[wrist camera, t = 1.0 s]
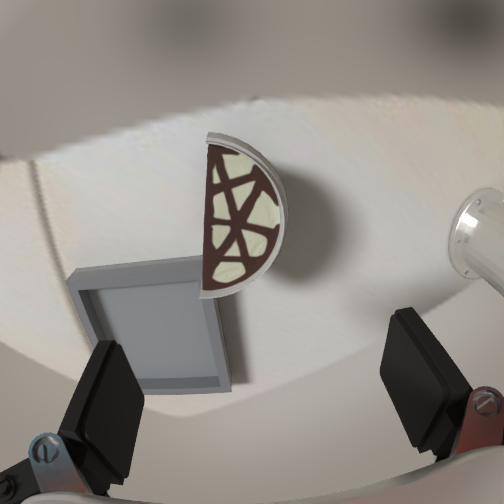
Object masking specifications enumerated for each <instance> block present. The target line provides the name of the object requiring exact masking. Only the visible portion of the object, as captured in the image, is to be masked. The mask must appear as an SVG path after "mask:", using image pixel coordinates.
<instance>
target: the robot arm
mask: <svg viewBox="0 0 504 504" xmlns="http://www.w3.org/2000/svg"><path fill="white" fill-rule="evenodd" d="M449 255H450V260H451V263H452V265H453V267H454V269H455V270H456V271H457V272H458V273H459V274H461V275H462V276H463V277H465V278H468V279H476V278H480V277H482V278H483V279H484V280H485V281H487V282H488V283H489V284H490V285H491V286H492V287H494V288H495V289H496V290H497V291H498V292H499V293H500V294H502V296H504V194H503V193H502V192H500V191H498V190H495V189H483V190H480V191H478V192H476V193H475V194H473V195H472V196H471V197H470V198H469V199H468V200H467V201H466V202H465V203H464V205H463V206H462V208H461V209H460V211H459V212H458V214H457V216H456V219H455V221H454V223H453V227H452V230H451V234H450V239H449ZM380 376H381V379H382V381H383V383H384V385H385V387H386V389H387V391H388V394H389V396H390V398H391V400H392V402H393V404H394V406H395V409H396V411H397V413H398V415H399V417H400V419H401V422H402V424H403V426H404V429H405V431H406V433H407V435H408V438H409V440H410V442H411V444H412V446H413V447H417V449H418V451H419V453H423V452H426V451H428V450H432V452H433V454H434V458H433V461H432V463H431V465H429V466H426V467H423V468H420V469H417V470H414V471H412V472H409V473H406V474H403V475H400V476H396V477H393V478H390V479H387V480H383V481H380V482H376V483H373V484H369V485H366V486H361V487H357V488H354V489H349V490H345V491H340V492H335V493H331V494H325V495H320V496H315V497H309V498H303V499H295V500H288V501H280V502H270V503H260V504H504V397H503V395H502V394H501V393H500V392H499V391H498V390H496V389H495V388H492V387H488V386H482V387H478V388H476V389H474V390H473V389H472V387H471V386H470V385H469V383H468V382H467V380H466V379H465V377H464V376H463V374H462V373H461V372H460V370H459V369H458V367H457V366H456V364H455V363H454V362H453V360H452V359H451V357H450V356H449V354H448V353H447V352H446V350H445V349H444V348H443V346H442V345H441V344H440V342H439V341H438V340H437V339H436V338H435V336H434V335H433V333H432V332H431V331H430V329H429V328H428V327H427V325H426V324H425V323H424V321H423V320H422V319H421V318H420V316H419V315H418V314H417V312H416V311H415V310H414V309H413V308H412V307H408V308H403V309H398V310H396V311H395V314H394V315H392V316H391V318H390V323H389V328H388V334H387V338H386V343H385V349H384V353H383V357H382V361H381V366H380ZM143 406H144V394H143V392H142V390H141V388H140V385H139V383H138V381H137V379H136V377H135V375H134V373H133V371H132V368H131V366H130V364H129V362H128V359H127V357H126V355H125V353H124V350H123V348H122V346H121V345H120V344H117V342H116V341H115V340H99V341H98V343H97V344H96V347H95V349H94V351H93V353H92V355H91V357H90V359H89V361H88V363H87V365H86V368H85V370H84V372H83V374H82V376H81V378H80V381H79V383H78V385H77V388H76V390H75V392H74V394H73V397H72V399H71V401H70V404H69V406H68V408H67V411H66V413H65V416H64V418H63V421H62V423H61V425H60V428H59V431H58V433H57V434H54V433H51V432H50V433H43V434H40V435H38V436H37V437H36V438H34V440H33V441H32V442H31V444H30V446H29V450H28V455H29V458H27V459H25V460H23V461H21V462H20V463H18V464H16V465H14V466H12V467H10V468H8V469H6V470H4V471H3V472H1V473H0V504H161V503H150V502H141V501H132V500H124V499H117V498H114V497H113V495H112V494H111V492H110V491H109V488H110V484H111V483H112V484H119V485H123V482H124V478H127V477H128V476H129V471H130V466H131V461H132V456H133V452H134V446H135V442H136V437H137V432H138V428H139V424H140V419H141V415H142V411H143Z"/></svg>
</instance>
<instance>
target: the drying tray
mask: <svg viewBox="0 0 504 504" xmlns="http://www.w3.org/2000/svg"><path fill="white" fill-rule="evenodd" d="M202 269H203V255H200V256H191V257H181V258H172V259H162V260H153V261H143V262H134V263H125V264H115V265H106V266H96V267H87V268H78V269H76V270H75V271H74V272H73V273H72V274H71V275H70V277H69V278H68V279H67V280H66V284H67V287H68V289H69V292H70V295H71V297H72V300H73V302H74V305H75V307H76V310H77V312H78V315H79V317H80V319H81V322H82V324H83V326H84V329H85V331H86V333H87V336H88V338H89V340H90V342H91V344H92V346H93V349H95V347H96V344H97V343H98V341H99V340H115V341H116V342H117V344H120V345H121V346H122V348H123V350H124V353H125V355H126V357H127V359H128V362H129V364H130V366H131V368H132V371H133V373H134V375H135V377H136V379H137V381H138V383H139V385H140V388H141V390H142V392H143V394H144V395H183V394H208V393H224V392H232V389H231V372H230V366H229V361H228V356H227V351H226V346H225V340H224V335H223V329H222V324H221V318H220V313H219V307H218V301H217V298H209V299H199V297H200V290H201V282H202Z"/></svg>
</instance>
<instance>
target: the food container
mask: <svg viewBox="0 0 504 504" xmlns="http://www.w3.org/2000/svg"><path fill="white" fill-rule="evenodd" d="M206 143H207V144H209V145H208V154H207V160H208V161H207V177H206V196H205V215H204V242H203V269H202V282H201V290H200V297H199V299H209V298H217V297H223V296H227V295H230V294H234V293H236V292H238V291H240V290H242V289H244V288H246V287H248V286H249V285H251V284H252V283H254V282H255V281H256V280H257V279H259V278H260V277H261V276H262V275H263V274H264V273H265V272H266V271H267V270H268V268H269V267H270V266H271V265H272V264H273V262H274V261H275V259H276V257H277V256H278V254H279V252H280V250H281V247H282V245H283V242H284V239H285V234H286V230H287V223H288V204H287V197H286V193H285V190H284V186H283V184H282V182H281V180H280V178H279V176H278V174H277V172H276V171H275V169H274V168H273V166H272V165H271V164H270V162H269V161H268V160H267V159H266V158H265V157H264V156H263V155H262V154H261V153H260V152H259V151H257V150H256V149H254V148H253V147H252V146H250V145H249V144H247V143H245V142H243V141H241V140H239V139H237V138H234V137H231V136H228V135H224V134H221V133H213V132H208V135H207V141H206Z"/></svg>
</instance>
